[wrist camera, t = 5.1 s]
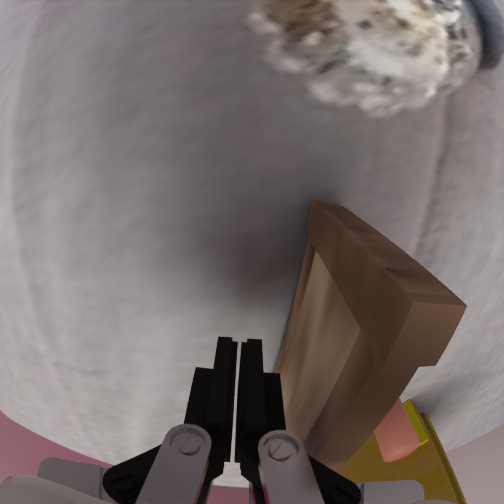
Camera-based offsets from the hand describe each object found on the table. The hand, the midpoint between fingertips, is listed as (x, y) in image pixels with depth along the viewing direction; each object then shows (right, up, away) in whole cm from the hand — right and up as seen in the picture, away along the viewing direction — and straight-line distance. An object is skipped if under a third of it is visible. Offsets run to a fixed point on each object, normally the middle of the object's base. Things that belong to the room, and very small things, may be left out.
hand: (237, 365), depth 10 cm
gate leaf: (+3, -1, +5) cm, 6 cm away
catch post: (+9, -5, +7) cm, 13 cm away
